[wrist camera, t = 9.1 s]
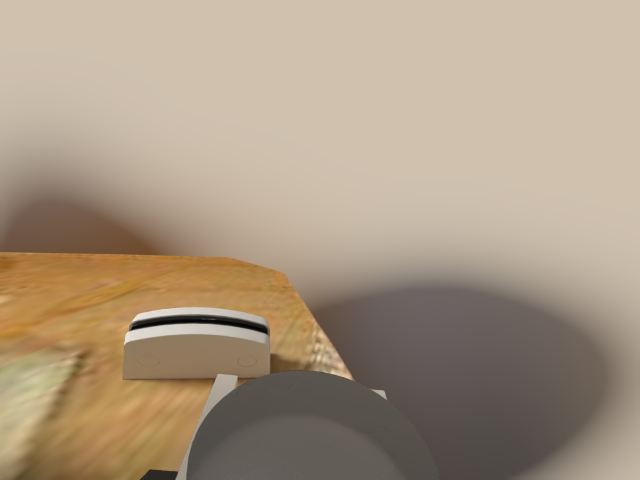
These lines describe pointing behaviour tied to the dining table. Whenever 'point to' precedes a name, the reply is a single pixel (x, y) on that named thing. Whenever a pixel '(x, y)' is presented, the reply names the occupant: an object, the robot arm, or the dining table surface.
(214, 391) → the robot arm
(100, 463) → the dining table surface
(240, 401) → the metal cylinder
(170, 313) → the hinge
